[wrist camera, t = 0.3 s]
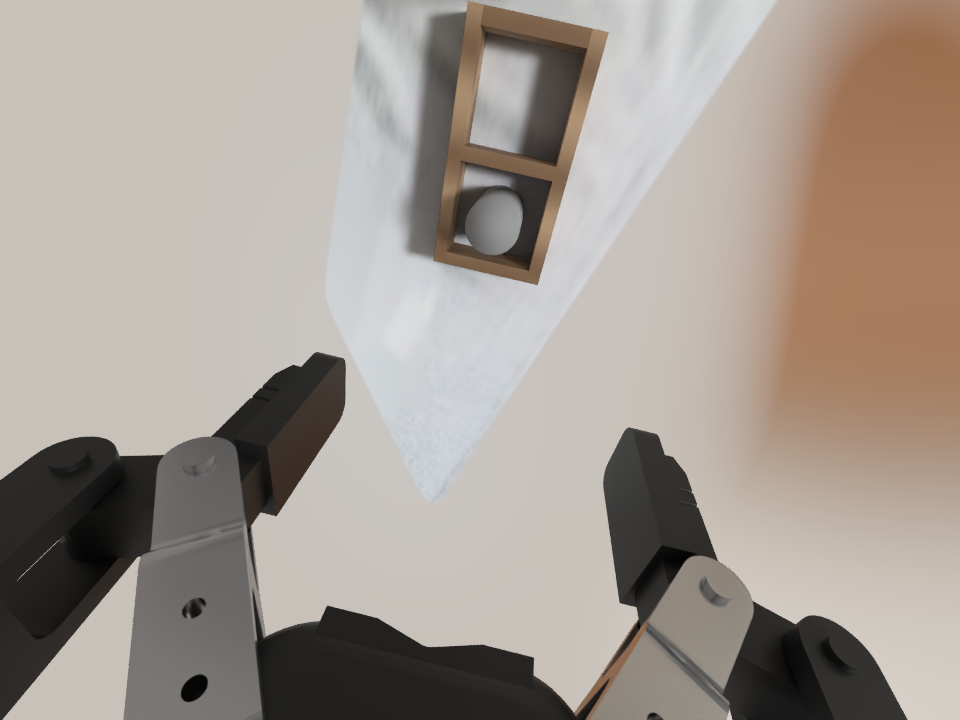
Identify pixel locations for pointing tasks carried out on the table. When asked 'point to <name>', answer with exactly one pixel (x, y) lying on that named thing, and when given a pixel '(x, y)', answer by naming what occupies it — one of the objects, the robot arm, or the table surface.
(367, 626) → the robot arm
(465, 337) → the table surface
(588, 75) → the rack
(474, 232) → the stub
